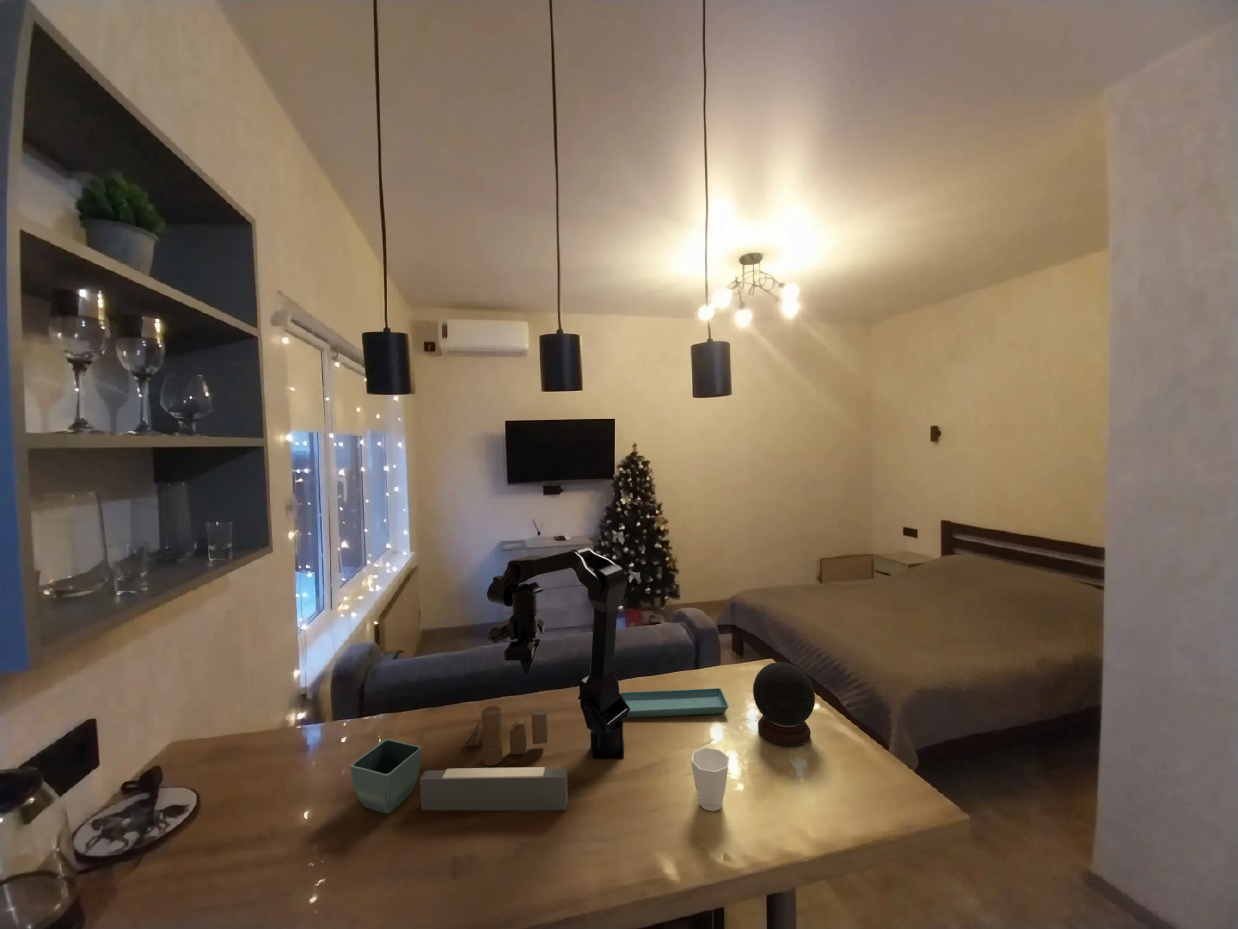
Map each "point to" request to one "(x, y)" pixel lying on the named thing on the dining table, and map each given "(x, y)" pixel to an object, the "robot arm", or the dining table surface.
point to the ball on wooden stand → (784, 703)
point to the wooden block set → (517, 734)
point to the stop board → (494, 789)
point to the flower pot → (386, 774)
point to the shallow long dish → (675, 702)
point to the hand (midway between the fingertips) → (527, 673)
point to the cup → (710, 776)
